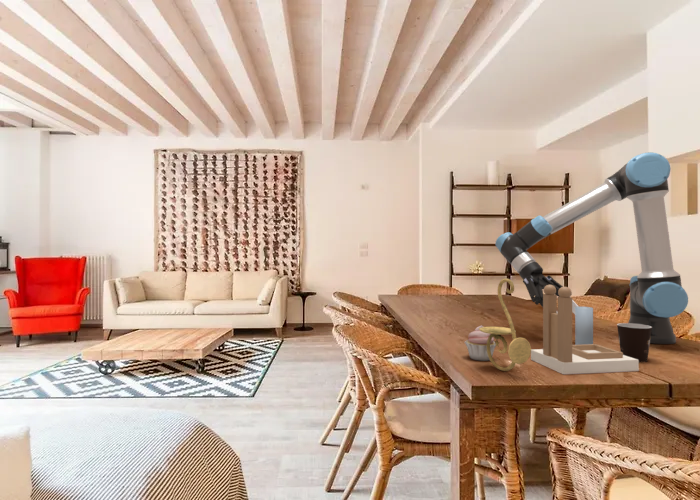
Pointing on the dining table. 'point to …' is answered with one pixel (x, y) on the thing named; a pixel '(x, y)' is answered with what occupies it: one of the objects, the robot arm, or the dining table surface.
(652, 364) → the dining table surface
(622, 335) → the coffee mug
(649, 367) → the dining table surface
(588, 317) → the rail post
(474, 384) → the dining table surface
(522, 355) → the wall sconce
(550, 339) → the peg insertion fixture
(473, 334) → the cupcake
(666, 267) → the robot arm
